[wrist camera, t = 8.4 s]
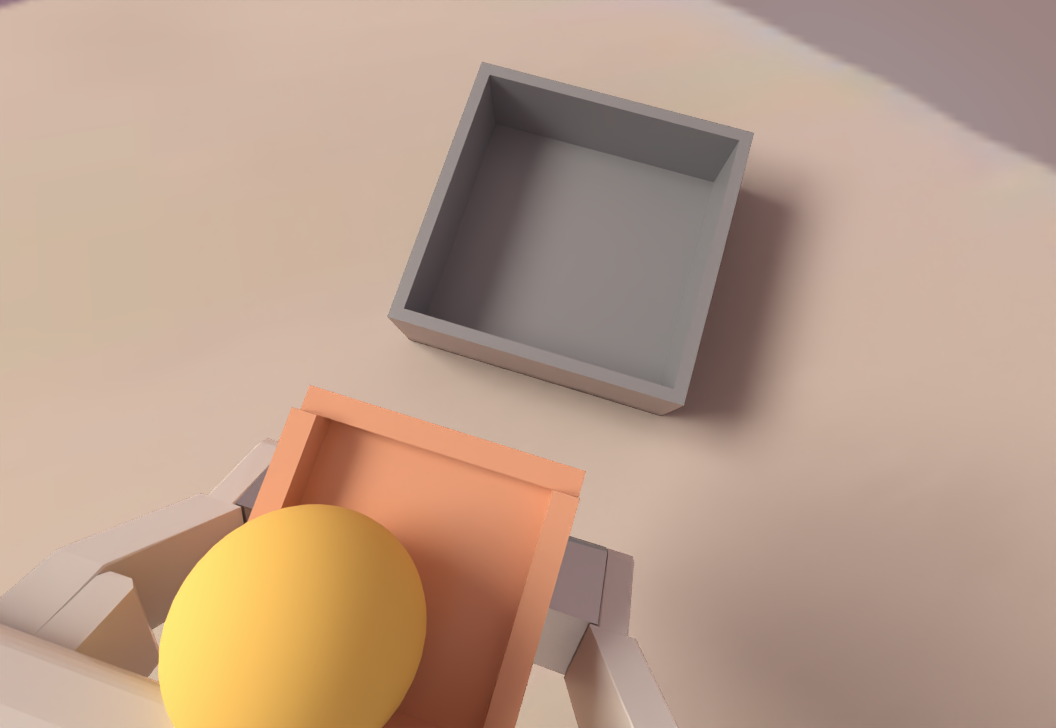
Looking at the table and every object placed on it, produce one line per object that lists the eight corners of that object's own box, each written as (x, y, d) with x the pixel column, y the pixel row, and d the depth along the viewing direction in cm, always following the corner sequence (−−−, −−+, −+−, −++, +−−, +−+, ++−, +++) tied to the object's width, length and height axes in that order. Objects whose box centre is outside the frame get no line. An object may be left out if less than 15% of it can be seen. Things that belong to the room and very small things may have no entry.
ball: (435, 458, 7) (208, 549, 5) (501, 678, 7) (301, 890, 5) (304, 492, 9) (82, 572, 6) (356, 672, 9) (150, 827, 6)
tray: (723, 181, 32) (754, 133, 27) (661, 415, 29) (683, 405, 25) (489, 118, 33) (482, 61, 28) (409, 339, 30) (387, 316, 26)
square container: (520, 614, 17) (492, 805, 7) (381, 568, 17) (181, 691, 8) (562, 470, 17) (587, 471, 8) (428, 428, 18) (301, 382, 8)
